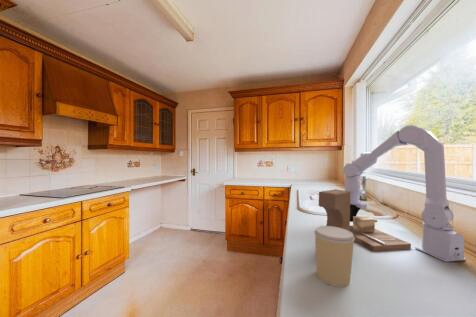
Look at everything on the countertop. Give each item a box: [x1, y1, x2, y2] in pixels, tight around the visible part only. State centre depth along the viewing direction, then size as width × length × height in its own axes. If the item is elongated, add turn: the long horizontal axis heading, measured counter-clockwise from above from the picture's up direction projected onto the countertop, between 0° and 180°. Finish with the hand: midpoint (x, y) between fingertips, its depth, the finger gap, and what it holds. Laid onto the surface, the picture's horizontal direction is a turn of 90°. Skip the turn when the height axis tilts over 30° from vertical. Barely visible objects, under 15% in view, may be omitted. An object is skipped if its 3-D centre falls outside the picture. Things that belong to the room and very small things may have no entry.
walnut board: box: [350, 225, 412, 252], centre depth 80 cm, size 20×15×2 cm
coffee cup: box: [314, 225, 355, 288], centre depth 53 cm, size 9×9×12 cm
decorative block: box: [318, 188, 351, 231], centre depth 69 cm, size 11×6×20 cm, turn 127°
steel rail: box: [350, 227, 386, 245], centre depth 80 cm, size 20×1×1 cm, turn 10°
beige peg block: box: [352, 215, 378, 232], centre depth 85 cm, size 5×9×5 cm, turn 100°
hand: (351, 221), depth 91 cm, fingers closed
